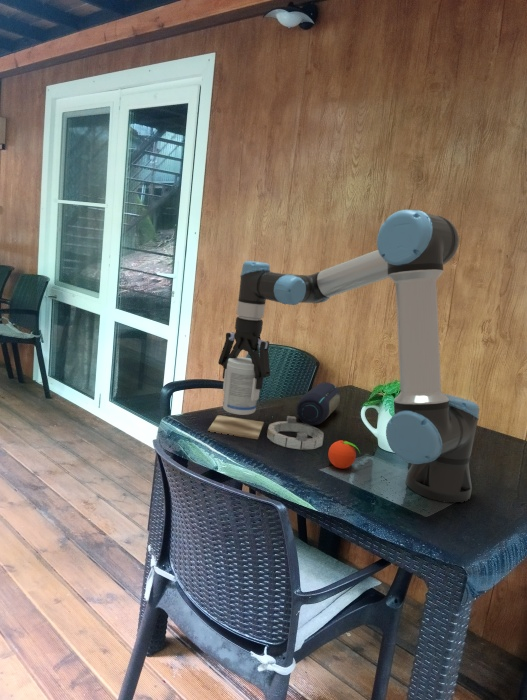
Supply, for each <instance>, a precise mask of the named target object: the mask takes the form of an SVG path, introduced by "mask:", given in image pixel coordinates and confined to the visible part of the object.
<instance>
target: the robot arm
mask: <svg viewBox="0 0 527 700" xmlns="http://www.w3.org/2000/svg"><path fill="white" fill-rule="evenodd" d="M459 245H460V239H459V232H458V230H457V228H456V227H455V225H454V223H452V222H451V221H450V220H449V219H447V218H446V217H443V216H439V215H435V214H431V213H428V212H424V211H422V210H419V209H402V210H398V211H396V212H394V213H392V214H391V215H389V216H388V217H387V218H386V220H384V222H383V223H382V224H381V226H380V228H379V230H378V234H377V238H376V246H377V247H376V248H377V250H374V251H370V252H368V253H365V254H363V255H360V256H357V257H354V258H352V259H349V260H347V261H345V262H342V263H338V264H336V265H333V266H331V267H327V268H325V269H323V270H321V271H318V272H315V273H312V274H308V275H307V274H291V273H290V274H289V273H288V274H286V273H282V272H281V273H279V272H273V271H271V270H270V267H271V266H270V264H269V263H266V262H262V261H253V260H245V261H244V262H243V263H242V267H241V274H240V282H239V283H240V284H239V292H238V299H237V309H236V315H237V316H236V318H235V326H234V329H235V332H226V333H225V341H224V344H223V347H222V350H221V354H220V356H219V359H218V361H217V362H218V365H220V366H222V368H223V371H222V379H223V384H222V385H223V386H222V392H224V389H225V379H226V369H227V363H228V359H229V358H237V357H238V356H239V355H240V354H241V352H242V351H245V352H247V353H248V355H249V357H250V359H251V360H252V364H254V371H255V375H256V377H254V378H253V385H252V393H251V400H252V401H254V400H257V401H258V400H259V399H260V390H262V388H263V384H264V383H263V382H264V379H265V378H269V377H270V376H271V369H270V356H269V347H270V342H269V341H268V340H267V341H265V340H263V339H261V334H262V331H263V325H264V321H263V318H264V314H265V308H266V301H267V300H268V301H272V302H276V303H280V304H282V305H291V306H297V305H298V304H300V303H301V304H303V303H304V304H319V303H320V304H321V303H325V302H327V301H328V300H329V299H330V298H331V297H335V296H337V295H340V294H344V293H346V292H350V291H352V290H355V289H356V290H357V289H359V288H361V287H364V286H367V285H370V284H374V283H376V282H379V281H383V280H386V279H390V280H392V281H393V283H394V284H395V302H396V321H397V322H396V323H397V342H398V343H397V344H398V346H397V347H398V365H399V368H398V369H399V384H400V386H399V387H400V392H399V394H398V395H397V396H396V397H394V399H393V407H394V408H393V411H394V414H393V415H392V416H391V418H390V419H389V421H388V422H387V424H386V428H385V437H386V440H387V444H388V446H389V448H390V450H391V451H392V452H393V453H394V454H395V455H396V456H397V457H398V458H399V459H401V461H402V462H403V461H404V462H406V463H407V464H408V463H409V464H411V465H410V467H409V469H408V471H407V473H406V480H405V484H406V486H407V487H408V489H410V490H412V491H413V492H414V493H416V494H418V495H420V496H423V497H424V498H427V499H431V500H433V501H437V500H438V501H439V502H442V501H443V502H442V503H449V502H454V503H453V504H456V503H455V502H461V503H465V502H467V501H469V500H470V499H471V495H472V490H473V487H472V486H473V485H472V481H471V480H472V479H471V474H470V473H471V471H470V460H471V454H472V451H473V445H474V441H475V437H476V436H475V435H476V431H477V428H478V427H477V426H478V421H479V420H480V418H479V413H480V407H479V405H478V404H477V403H476V402H474V401H471V400H469V399H465V398H463V397H462V398H461V397H458V396H455V395H451V394H446V393H445V394H444V393H443V391H442V384H441V382H442V379H441V357H440V337H439V335H440V334H439V333H440V332H439V316H438V313H439V312H438V309H439V308H438V287H437V281H438V279H439V278H440V277H441V275H442V274H443V273H444V265H446V264H447V263H449V262H450V261H451V260H452V259H453V258H454V257H455V255H456V253H457V251H458V248H459ZM468 499H469V500H468ZM438 501H437V502H438ZM444 501H445V502H444ZM464 501H465V502H464Z"/></svg>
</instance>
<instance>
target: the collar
mask: <svg viewBox="0 0 527 700" xmlns="http://www.w3.org/2000/svg"><path fill="white" fill-rule="evenodd" d="M280 432H293V433H296V437H292V436H287V435H285V434H282V433H280ZM266 433H267V435H266V437H267V439H269V441H270V442H271V443H274V444H275V445H278V446H281V447H284V448H289V449H294V450H295V449H296V450H301V451H302V450H303V451H304V450H316V449H318V448H320V447H321V448H322V446H323V443H324V436H325V435H324V431H322V430H320V429H319V428H318V427H315V425H309V424H306V423H304V422H297V417H296V416H291V415H287V416H286V421H275V422H273V423H269V424H268V428H267V432H266ZM308 436H310V437H312V438H308Z"/></svg>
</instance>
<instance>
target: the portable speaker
mask: <svg viewBox="0 0 527 700" xmlns="http://www.w3.org/2000/svg"><path fill="white" fill-rule="evenodd" d="M341 398H342V397H341V392H340V390H339V388H338V387H337V386H336V385H335V384H333V383H330V382H326V381H325V382H320V383H318V384H316V385H315V386H314V387H312V389H310V390H309V391H307V392H306V393H305V394H303V396H301V397H300V398H299V400H298V402H297V406H296V415H297V417H298V419H299V420H300V421H301V423H304V424H308V425H311V426H317V425H320V424H322V423H323V422H324V421H326V420H327V418H328V417H329V416H330V415H331V414H332V413H333V412H335V410H336V409H337V408H338V406H339V405H340V403H341V401H342V400H341Z"/></svg>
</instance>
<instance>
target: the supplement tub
mask: <svg viewBox="0 0 527 700" xmlns="http://www.w3.org/2000/svg"><path fill="white" fill-rule="evenodd" d="M254 377H256V375H255V371H254V364H252V360H251V357H250V358H249V357H242V356H241V357H238V356H237V358H229V359H228V363H227V369H226V379H225V389H224V391H223V401H222V409H223V411H225V412H227V413H230V414H232V415H233V414H234V415H238V416H240V415H243V416H244V415H245V416H247V415H251V414H254V413H255V412H256V410H257V403H258V400H254V401H252V400H251V393H252V385H253V378H254Z"/></svg>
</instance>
